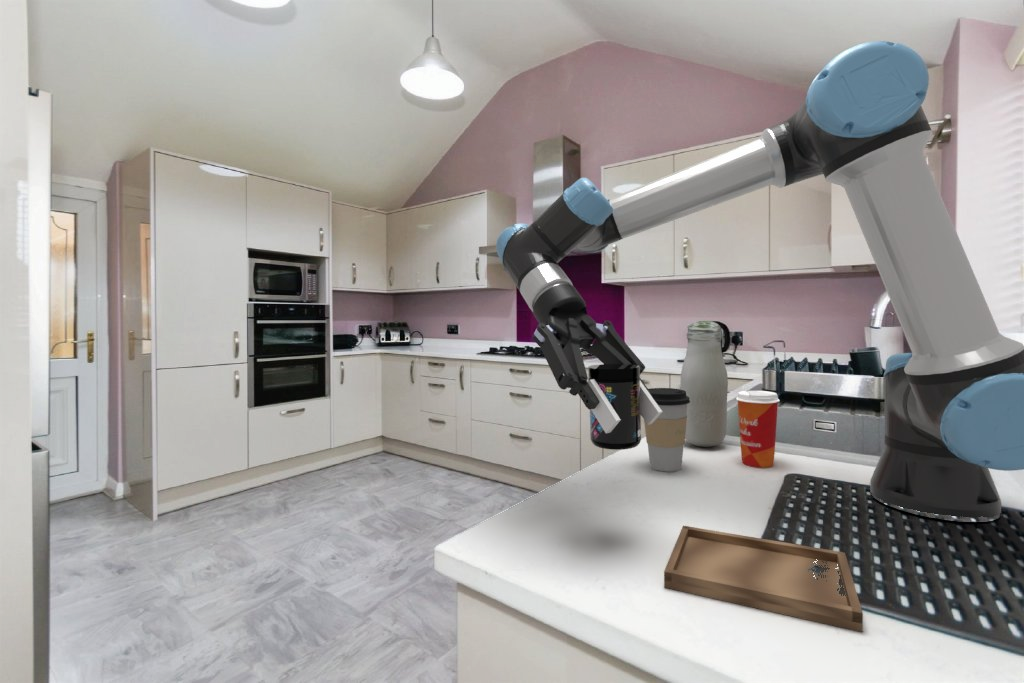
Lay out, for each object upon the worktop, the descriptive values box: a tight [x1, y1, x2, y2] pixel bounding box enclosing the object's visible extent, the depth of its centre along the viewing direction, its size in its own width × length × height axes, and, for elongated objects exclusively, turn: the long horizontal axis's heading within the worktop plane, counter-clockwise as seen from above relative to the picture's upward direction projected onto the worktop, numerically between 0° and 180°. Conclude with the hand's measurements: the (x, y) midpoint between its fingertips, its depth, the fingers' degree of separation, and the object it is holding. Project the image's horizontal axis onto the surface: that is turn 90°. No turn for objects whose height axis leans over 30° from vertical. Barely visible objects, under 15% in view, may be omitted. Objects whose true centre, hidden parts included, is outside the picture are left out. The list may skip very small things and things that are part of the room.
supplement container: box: [587, 363, 642, 451], centre depth 66 cm, size 7×7×10 cm
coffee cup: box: [643, 387, 690, 473], centre depth 96 cm, size 9×9×15 cm
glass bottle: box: [680, 320, 729, 448], centre depth 110 cm, size 10×10×28 cm
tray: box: [663, 525, 864, 633], centre depth 56 cm, size 18×13×2 cm
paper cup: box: [735, 390, 780, 469], centre depth 97 cm, size 8×8×14 cm
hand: (634, 422), depth 63 cm, fingers closed on supplement container, 7 cm apart
